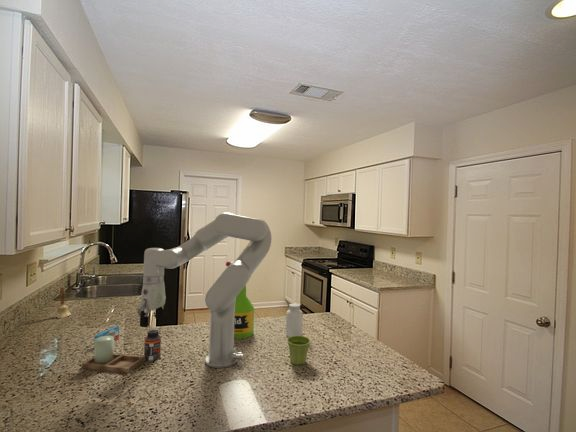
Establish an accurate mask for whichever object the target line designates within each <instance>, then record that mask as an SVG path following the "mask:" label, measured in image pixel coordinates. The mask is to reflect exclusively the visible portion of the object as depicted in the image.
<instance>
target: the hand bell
mask: <svg viewBox="0 0 576 432" xmlns="http://www.w3.org/2000/svg"><path fill="white" fill-rule="evenodd" d="M59 297H60V305H59V306H58V307H57V310H56V312H55V314H54V315H55V317H66V316H69V315H71V314H72V313H71V312H70V311H69V309H68V308H69V307H68V305H66V304H65V297H66V289H65V287H61V288H60V291H59ZM71 316H72V315H71ZM69 317H70V316H69ZM66 318H67V317H66Z"/></svg>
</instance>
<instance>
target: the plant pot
mask: <svg viewBox="0 0 576 432" xmlns="http://www.w3.org/2000/svg"><path fill="white" fill-rule="evenodd" d="M286 339H287V340H286V341H287V344H288V350H289V359H290V363H291V364H293V365H296V366H298V365H305V364H306V362H307V356H308V351H309V350H308V349H309V346H310V344H311V339H310V338H309V337H308V336H304V335H302V336H291V337H287V338H286Z"/></svg>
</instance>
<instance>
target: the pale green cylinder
mask: <svg viewBox="0 0 576 432" xmlns="http://www.w3.org/2000/svg"><path fill="white" fill-rule="evenodd" d="M93 341H94V345H93V346H94V347H93V353H94V354H93V357H94V363H95V364H104V365H106V364H107V363H109V362H110V361H112V360H114V353H115V351H114V349H115V340H114V337H113V336H102V337H99V338H97V339H95V338H94V340H93Z"/></svg>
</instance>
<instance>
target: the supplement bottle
mask: <svg viewBox="0 0 576 432" xmlns="http://www.w3.org/2000/svg"><path fill="white" fill-rule="evenodd" d="M159 333H160V331H159V330H158V329H151V330H148V331H147V336H146V337H145V338H144V353H143V355H144V356H145V361H147V362H153V361H156V360H158V359H160V358H161V352H162V351H161V350H162V349H161V345H162V344H161V343H162V337H161V335H160V334H159Z"/></svg>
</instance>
